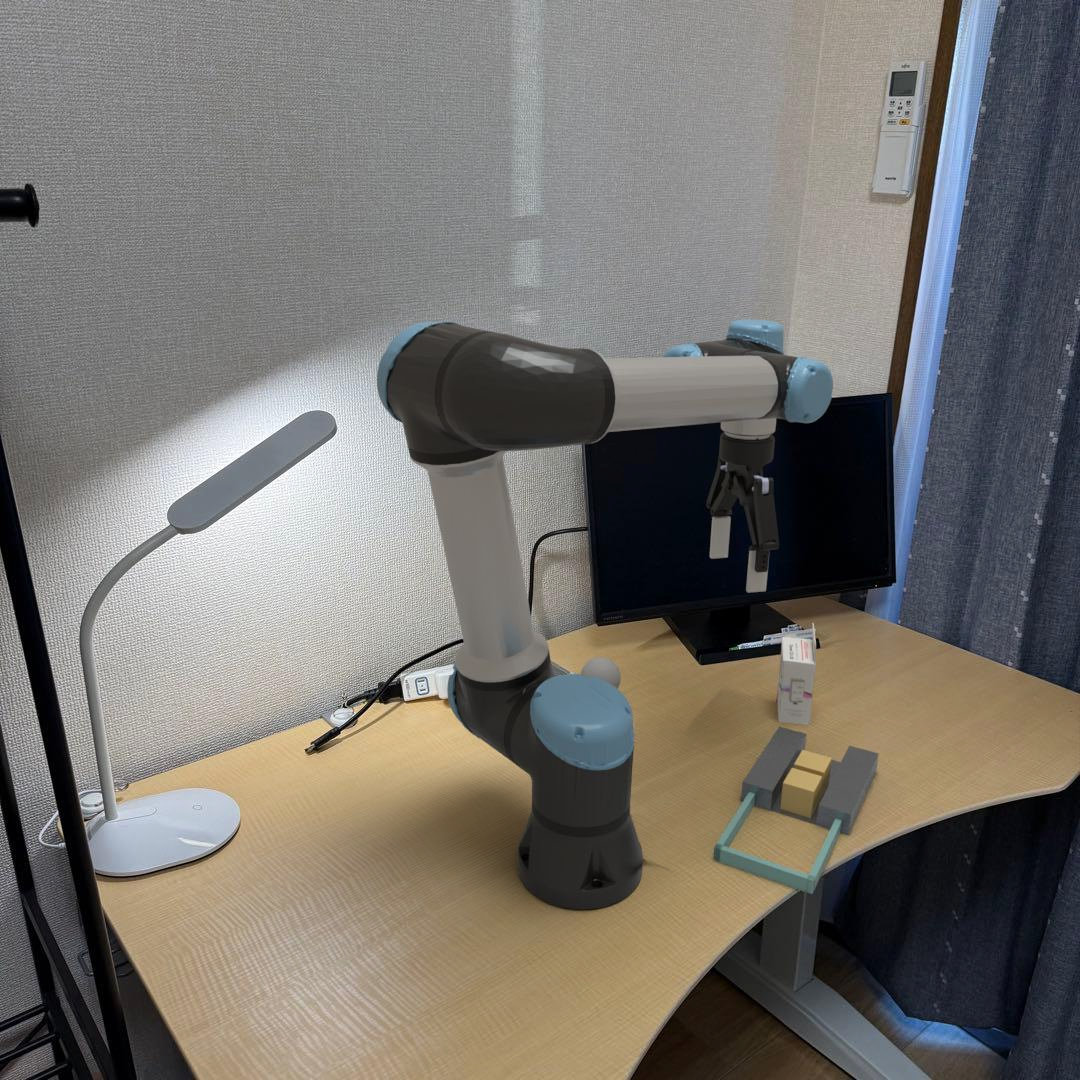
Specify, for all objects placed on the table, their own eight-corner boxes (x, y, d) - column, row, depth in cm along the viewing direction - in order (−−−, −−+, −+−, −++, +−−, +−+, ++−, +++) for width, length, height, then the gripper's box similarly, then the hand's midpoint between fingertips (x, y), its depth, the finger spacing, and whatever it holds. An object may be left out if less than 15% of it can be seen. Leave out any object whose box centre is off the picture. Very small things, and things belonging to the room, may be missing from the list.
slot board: (847, 842, 121) (851, 814, 119) (740, 808, 127) (742, 781, 126) (875, 779, 134) (878, 753, 132) (776, 751, 140) (779, 726, 139)
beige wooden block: (821, 798, 128) (824, 772, 126) (791, 789, 129) (794, 763, 128) (828, 783, 131) (831, 758, 129) (799, 774, 133) (802, 749, 131)
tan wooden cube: (810, 818, 123) (813, 792, 122) (780, 808, 125) (783, 782, 124) (819, 802, 127) (822, 776, 125) (789, 793, 129) (792, 767, 127)
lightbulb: (620, 734, 145) (622, 669, 141) (579, 733, 145) (581, 668, 141) (618, 713, 150) (620, 650, 147) (579, 712, 151) (580, 649, 147)
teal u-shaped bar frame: (811, 902, 111) (813, 881, 110) (712, 867, 116) (714, 847, 115) (839, 840, 121) (841, 820, 120) (747, 811, 127) (749, 791, 126)
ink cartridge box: (774, 701, 154) (782, 618, 149) (806, 704, 153) (815, 620, 148) (776, 728, 146) (784, 641, 141) (809, 732, 145) (819, 645, 140)
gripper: (815, 454, 124) (798, 604, 131) (736, 413, 147) (726, 543, 154) (761, 457, 122) (747, 609, 130) (690, 415, 145) (682, 546, 152)
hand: (736, 573), depth 142 cm, fingers open, 13 cm apart
